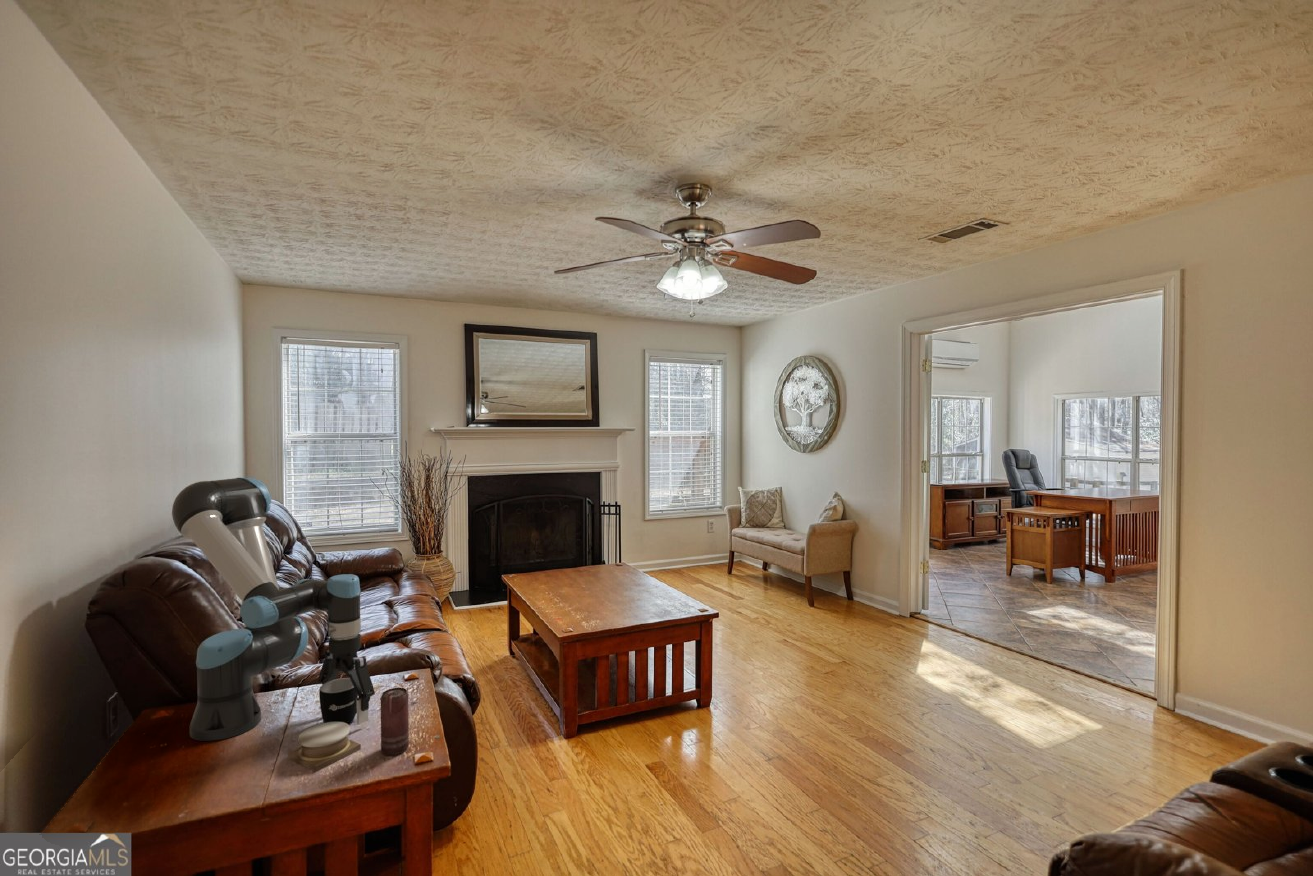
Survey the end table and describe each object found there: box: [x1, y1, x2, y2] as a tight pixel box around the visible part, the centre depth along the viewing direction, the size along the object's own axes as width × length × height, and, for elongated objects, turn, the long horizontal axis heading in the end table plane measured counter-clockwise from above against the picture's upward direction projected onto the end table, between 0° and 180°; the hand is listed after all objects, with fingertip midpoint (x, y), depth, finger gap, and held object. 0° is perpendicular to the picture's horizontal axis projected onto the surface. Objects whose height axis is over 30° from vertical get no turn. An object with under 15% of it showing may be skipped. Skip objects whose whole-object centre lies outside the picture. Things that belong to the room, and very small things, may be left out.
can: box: [380, 687, 410, 757], centre depth 149 cm, size 6×6×14 cm
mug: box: [318, 677, 371, 726], centre depth 163 cm, size 12×9×10 cm
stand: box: [287, 722, 362, 773], centre depth 148 cm, size 11×11×5 cm
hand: (346, 716), depth 163 cm, fingers open, 13 cm apart
